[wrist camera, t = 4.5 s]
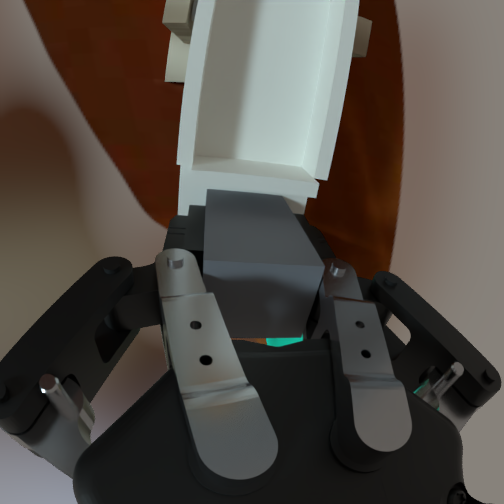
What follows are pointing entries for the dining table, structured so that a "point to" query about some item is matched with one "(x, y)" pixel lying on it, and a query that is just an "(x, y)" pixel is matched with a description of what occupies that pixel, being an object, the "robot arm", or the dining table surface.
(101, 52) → the dining table surface
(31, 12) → the dining table surface
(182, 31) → the lever stand
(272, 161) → the board
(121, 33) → the dining table surface
